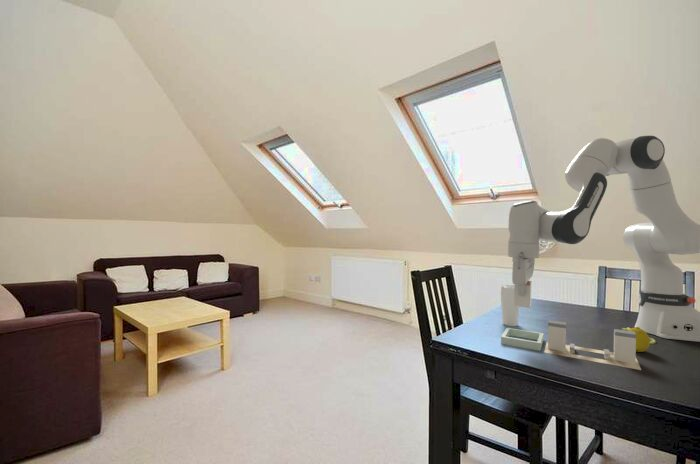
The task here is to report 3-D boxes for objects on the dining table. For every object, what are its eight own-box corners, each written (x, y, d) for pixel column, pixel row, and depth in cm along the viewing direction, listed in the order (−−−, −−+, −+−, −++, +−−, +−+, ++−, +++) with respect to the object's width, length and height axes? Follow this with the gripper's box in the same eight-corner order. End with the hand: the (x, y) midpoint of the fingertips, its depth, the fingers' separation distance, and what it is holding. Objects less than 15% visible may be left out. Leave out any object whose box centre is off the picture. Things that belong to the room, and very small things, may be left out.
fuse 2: (633, 360, 95) (634, 331, 94) (635, 364, 92) (636, 334, 92) (613, 356, 97) (613, 328, 97) (614, 360, 95) (615, 331, 94)
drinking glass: (522, 329, 125) (522, 288, 125) (502, 328, 126) (503, 287, 126) (517, 323, 132) (517, 285, 131) (498, 322, 133) (498, 284, 133)
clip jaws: (608, 358, 98) (608, 349, 98) (609, 362, 95) (609, 354, 95) (569, 351, 103) (570, 343, 103) (569, 355, 100) (569, 347, 100)
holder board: (635, 358, 97) (635, 356, 97) (641, 373, 88) (641, 370, 88) (546, 343, 110) (546, 341, 110) (544, 355, 101) (544, 352, 101)
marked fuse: (531, 305, 109) (531, 281, 109) (529, 307, 107) (530, 282, 106) (515, 304, 112) (515, 279, 111) (514, 305, 109) (514, 281, 109)
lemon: (640, 358, 98) (640, 330, 98) (620, 351, 103) (620, 324, 103) (654, 355, 100) (654, 328, 99) (633, 349, 105) (634, 323, 105)
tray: (543, 342, 111) (543, 333, 111) (540, 353, 102) (540, 343, 102) (506, 336, 117) (506, 327, 117) (500, 345, 108) (501, 336, 108)
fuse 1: (565, 348, 103) (566, 322, 103) (565, 351, 101) (565, 325, 101) (548, 345, 106) (548, 320, 106) (548, 348, 103) (548, 322, 103)
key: (628, 332, 122) (628, 326, 122) (659, 345, 109) (659, 338, 109) (608, 332, 122) (608, 326, 122) (636, 345, 110) (636, 338, 110)
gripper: (530, 254, 98) (530, 302, 99) (537, 250, 115) (537, 290, 116) (507, 253, 102) (506, 299, 102) (517, 249, 119) (516, 288, 119)
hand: (522, 294), depth 109 cm, fingers closed on marked fuse, 3 cm apart
